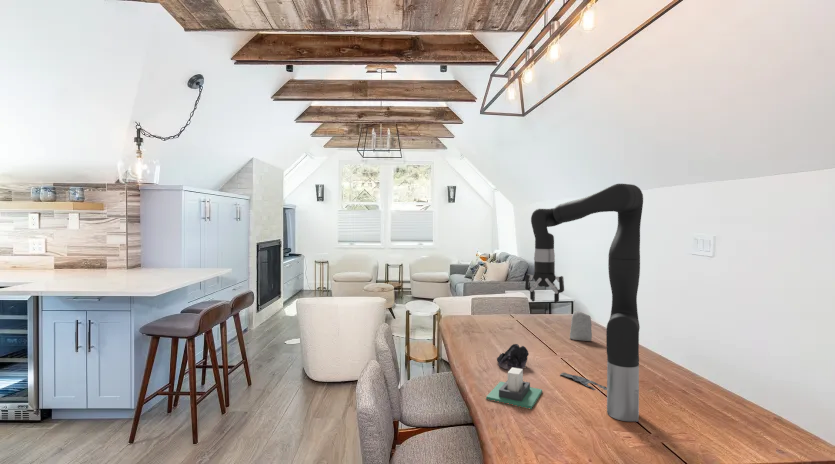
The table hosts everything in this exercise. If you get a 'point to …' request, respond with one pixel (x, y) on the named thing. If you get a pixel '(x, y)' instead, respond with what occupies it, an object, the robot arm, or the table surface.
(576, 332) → the decorative stone
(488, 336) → the table surface
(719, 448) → the table surface
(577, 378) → the driftwood
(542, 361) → the table surface
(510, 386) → the plug
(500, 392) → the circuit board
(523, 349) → the crystal cluster
